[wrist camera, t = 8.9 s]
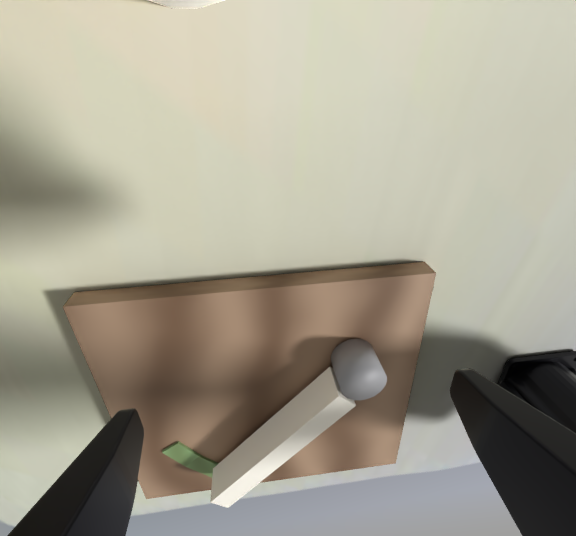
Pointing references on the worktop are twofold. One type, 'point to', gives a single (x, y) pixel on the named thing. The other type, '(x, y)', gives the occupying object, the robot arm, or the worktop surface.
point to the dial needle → (300, 420)
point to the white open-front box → (186, 3)
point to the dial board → (251, 364)
